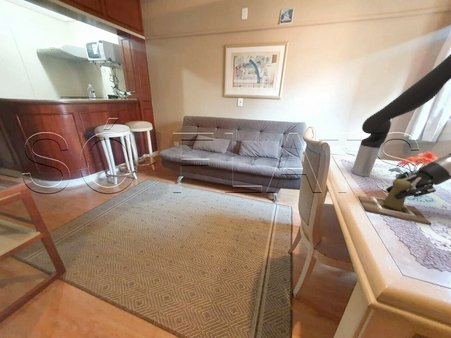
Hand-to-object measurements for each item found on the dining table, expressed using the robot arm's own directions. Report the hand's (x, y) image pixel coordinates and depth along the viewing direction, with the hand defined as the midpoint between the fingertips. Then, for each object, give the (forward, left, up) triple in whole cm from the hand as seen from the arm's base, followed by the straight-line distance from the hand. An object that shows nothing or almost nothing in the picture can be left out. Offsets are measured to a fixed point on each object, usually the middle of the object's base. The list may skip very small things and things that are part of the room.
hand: (391, 194), depth 73 cm
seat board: (0, +2, -7) cm, 7 cm away
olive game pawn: (0, +2, -5) cm, 5 cm away
